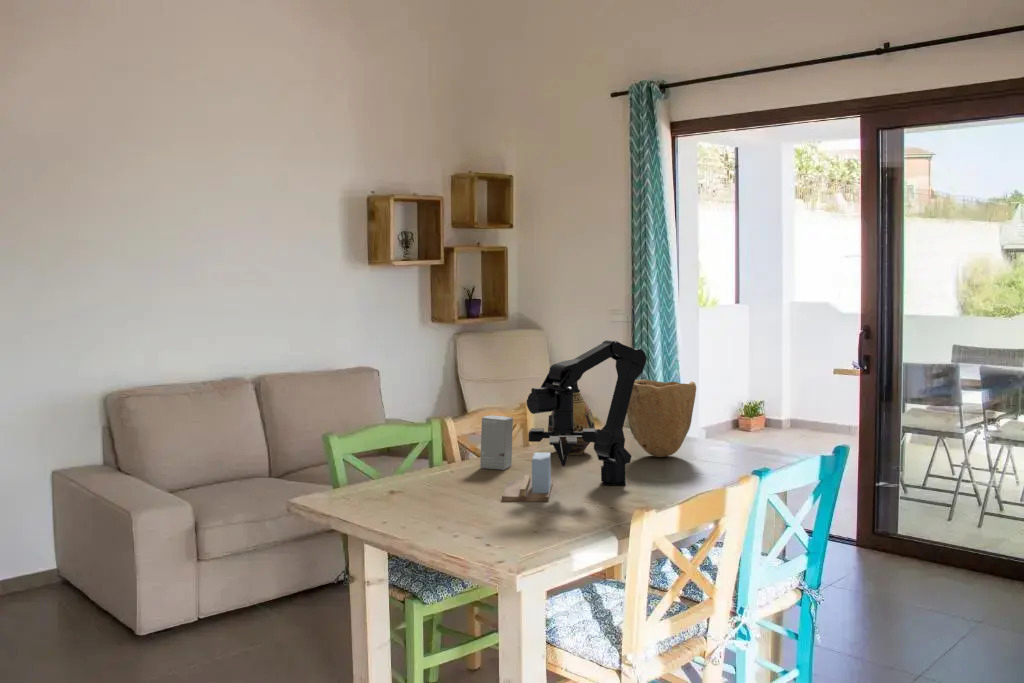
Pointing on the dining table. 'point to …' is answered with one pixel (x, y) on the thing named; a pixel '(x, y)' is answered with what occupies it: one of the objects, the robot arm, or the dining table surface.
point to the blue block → (541, 472)
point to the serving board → (523, 491)
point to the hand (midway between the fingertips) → (563, 466)
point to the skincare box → (496, 442)
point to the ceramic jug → (578, 423)
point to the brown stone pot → (661, 415)
